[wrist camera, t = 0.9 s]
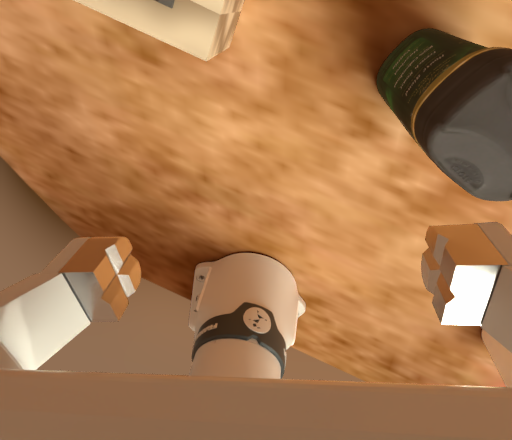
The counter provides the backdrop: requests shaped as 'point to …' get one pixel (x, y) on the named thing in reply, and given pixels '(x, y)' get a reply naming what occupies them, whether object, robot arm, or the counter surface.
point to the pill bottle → (499, 357)
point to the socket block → (178, 21)
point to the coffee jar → (455, 107)
